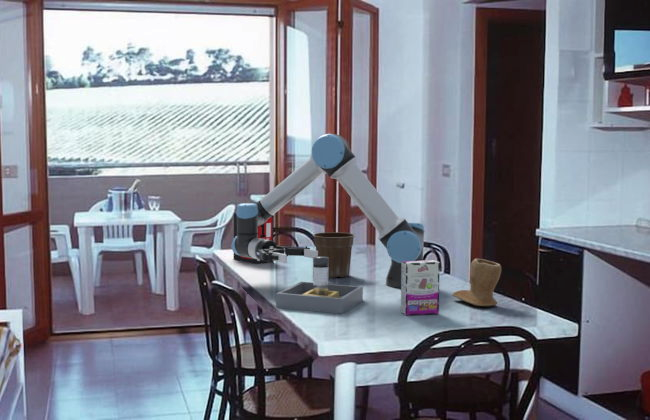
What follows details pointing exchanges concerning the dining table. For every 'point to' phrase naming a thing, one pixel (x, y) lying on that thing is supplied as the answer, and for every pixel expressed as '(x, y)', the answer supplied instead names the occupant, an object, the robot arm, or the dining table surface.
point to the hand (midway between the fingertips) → (301, 256)
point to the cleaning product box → (263, 232)
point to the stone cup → (481, 283)
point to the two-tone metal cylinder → (320, 275)
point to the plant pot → (335, 251)
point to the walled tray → (319, 298)
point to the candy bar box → (420, 287)
